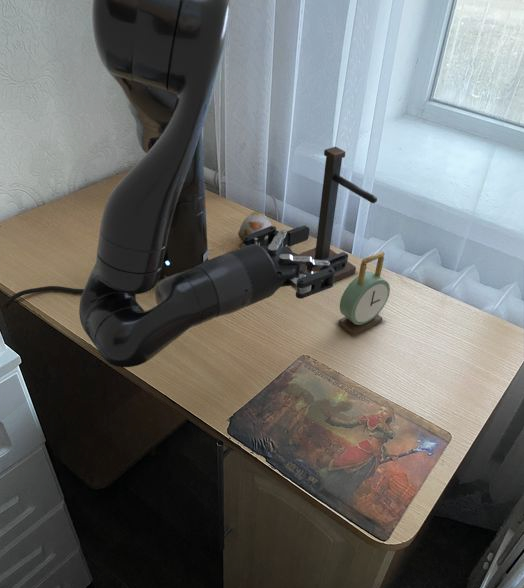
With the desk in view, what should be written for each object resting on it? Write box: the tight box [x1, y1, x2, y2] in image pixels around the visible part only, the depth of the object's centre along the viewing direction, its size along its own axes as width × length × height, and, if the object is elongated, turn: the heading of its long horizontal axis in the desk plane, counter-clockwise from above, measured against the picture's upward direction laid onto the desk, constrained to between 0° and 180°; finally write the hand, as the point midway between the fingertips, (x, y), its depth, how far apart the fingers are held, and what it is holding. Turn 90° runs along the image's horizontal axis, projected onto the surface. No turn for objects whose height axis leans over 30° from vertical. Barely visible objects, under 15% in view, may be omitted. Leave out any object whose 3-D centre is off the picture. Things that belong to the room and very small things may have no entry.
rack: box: [297, 146, 378, 284], centre depth 98 cm, size 16×10×24 cm, turn 36°
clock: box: [337, 251, 391, 336], centre depth 92 cm, size 9×4×14 cm, turn 126°
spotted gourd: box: [237, 211, 288, 247], centre depth 112 cm, size 8×10×10 cm
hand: (326, 244), depth 78 cm, fingers open, 8 cm apart
